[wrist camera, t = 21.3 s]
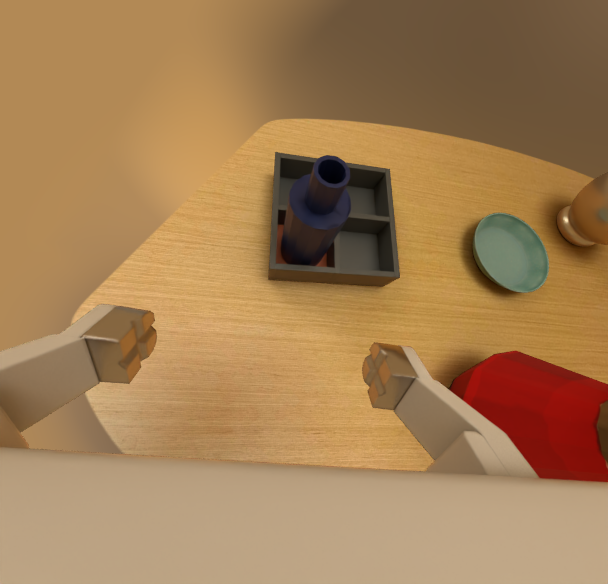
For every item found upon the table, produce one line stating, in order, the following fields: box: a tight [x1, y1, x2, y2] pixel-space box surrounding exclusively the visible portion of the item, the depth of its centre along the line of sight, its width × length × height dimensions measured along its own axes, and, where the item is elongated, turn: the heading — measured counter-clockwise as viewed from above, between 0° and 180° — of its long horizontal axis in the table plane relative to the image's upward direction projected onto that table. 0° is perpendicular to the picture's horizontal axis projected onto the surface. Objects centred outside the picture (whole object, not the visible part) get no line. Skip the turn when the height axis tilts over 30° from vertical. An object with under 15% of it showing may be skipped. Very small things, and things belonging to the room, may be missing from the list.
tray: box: [269, 152, 400, 287], centre depth 35 cm, size 18×18×5 cm
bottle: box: [449, 351, 608, 482], centre depth 25 cm, size 16×14×20 cm
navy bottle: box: [281, 155, 351, 266], centre depth 27 cm, size 6×6×16 cm
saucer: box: [473, 213, 549, 293], centre depth 41 cm, size 15×15×3 cm
